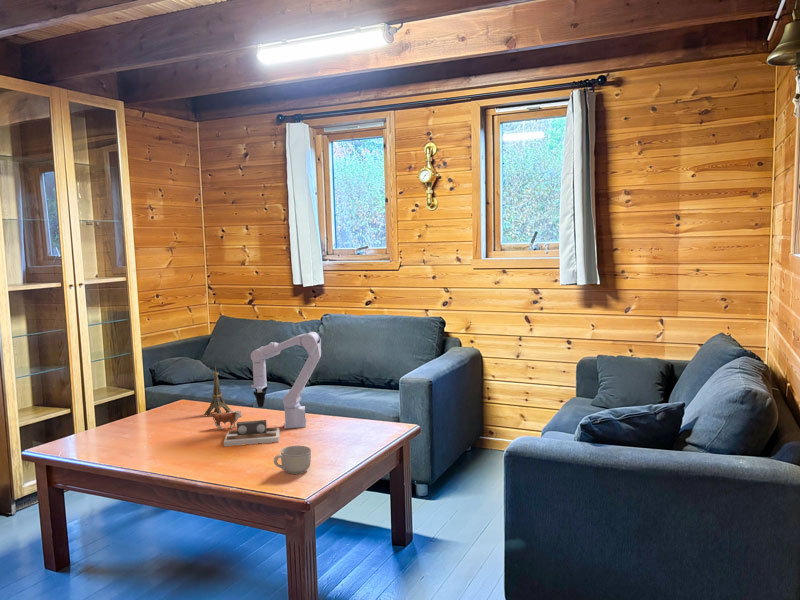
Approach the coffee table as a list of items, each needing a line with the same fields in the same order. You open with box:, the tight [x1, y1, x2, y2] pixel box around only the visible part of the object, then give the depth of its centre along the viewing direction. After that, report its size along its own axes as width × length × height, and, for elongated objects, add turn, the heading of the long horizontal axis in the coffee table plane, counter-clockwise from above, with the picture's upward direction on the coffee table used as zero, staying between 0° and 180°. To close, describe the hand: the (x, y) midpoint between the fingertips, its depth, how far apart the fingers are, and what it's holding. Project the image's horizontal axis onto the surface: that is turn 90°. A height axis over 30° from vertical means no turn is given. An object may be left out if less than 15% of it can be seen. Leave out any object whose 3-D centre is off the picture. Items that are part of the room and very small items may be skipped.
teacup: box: [273, 445, 312, 475], centre depth 224 cm, size 14×11×8 cm
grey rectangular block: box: [236, 419, 268, 435], centre depth 265 cm, size 12×3×6 cm, turn 100°
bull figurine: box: [212, 409, 243, 430], centre depth 284 cm, size 4×13×8 cm, turn 89°
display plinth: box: [223, 426, 280, 447], centre depth 265 cm, size 22×14×3 cm, turn 99°
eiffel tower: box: [203, 364, 233, 417], centre depth 309 cm, size 11×11×25 cm
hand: (261, 404), depth 285 cm, fingers open, 7 cm apart
